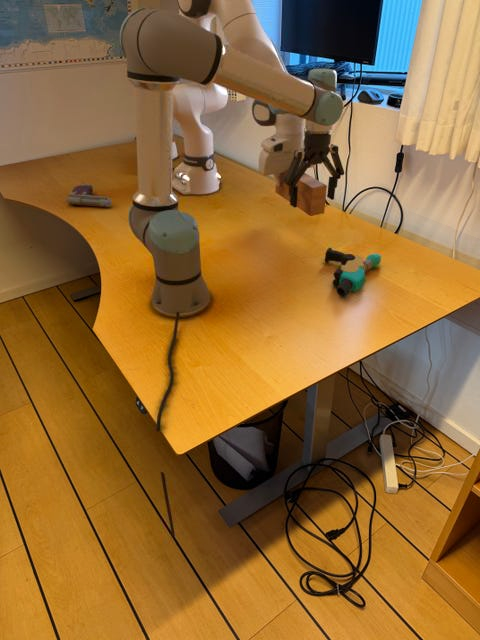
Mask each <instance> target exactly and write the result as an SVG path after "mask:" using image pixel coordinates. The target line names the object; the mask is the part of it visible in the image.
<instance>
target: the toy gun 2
mask: <svg viewBox="0 0 480 640" xmlns="http://www.w3.org/2000/svg"><path fill="white" fill-rule="evenodd" d="M330 261H332V262H337V263H340V267H339V268H337V269H336V270H335V272H334V273H333V277H334V279H333V280H332V285H333V286H334V287H336V292H337V294H338V295H339V297H341V298H344V299H345V298H346V297H347V295H348V294H350V293H351V291H353V292H357V291H359V290H360V289H361V288H362V287H363V286H364V284H365V282H366V274H365V273H366V272H367V271H369V270H370V269H372V268H377V266H379V265H380V263H381V261H382V255H381V254H379V253H370V254H368V256H366V259H364V257H363V256H361V255H359V254H353V253H352V254H351V253H344V252H342V251H338V250H335V249H333V248H332V247H328V248H327V249H326V251H325V255H324V262H325V263H329V262H330Z"/></svg>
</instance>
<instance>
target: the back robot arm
mask: <svg viewBox="0 0 480 640" xmlns="http://www.w3.org/2000/svg"><path fill="white" fill-rule="evenodd" d="M176 2H177V5H178V14H180V15H182V16H184V17H185V18H187V19H189V20H190V21H192V22H194V23H195V24H197V25H199V26H201V27H202V28H204V29H206V30H208V31H210V32H211V23H212V20H213V19H214V18H215V17H217V18H218V21H219V24H220V27H221V29H222V32H223V35H224V38H225V41H226V43H227V46H229V47H231V48H233V49H235V50H238V51H240V52H242V53H244V54H246V55H249V56H251V57H253V58H255V59H257V60H260V61H262V62H264V63H266V64H269V65H271V66H273V67H275V68H277V69H280V70H282V71H284V72H286V73H288V74H289V71H288V69H287V68H286V66H285V63H284V61H283V59H282V56H281V54H280V52H279V50H278V48H277V47H276V45H275V43H274V42H273V40H272V39H271V38H269V36H268V35H267V34H266V32H265V30H264V29H263V27H262V25H261V23H260V20H259V18H258V15H257V12H256V10H255V6H254V5H253V2H252V0H176ZM228 100H229V94H228V89H227V88H224V87H222V86H219V85H216V84H214V83H210V84H208V85H202V84H199V83H197V82H193V81H191V82H187V83H178V84H177V85H176V86H175V87H174V89H173V120H174V121H175V122H176V123H177V125H178V126H179V128H180V130H181V133H182V137H183V145H184V146H183V147H184V152H183V153H181V157H182V162H181V163H180V164H178V165H177V166H176V167H173V166H172V171H173V172H172V177H173V178H172V189H175V190H176V191H178V192H179V193H180V194H182V195H185V196H187V195H207V194H212V193H215V192H217V191H218V190H219V189H220V184H221V182H220V179H221V175H220V174H219V173H218V170H217V163H216V152H215V150H214V134H213V131H212V130H211V128H209V127H208V126H206V125H205V124H202V122H201V116H203V115H206V114H207V115H208V114H213V113H216V112H218V111H220V110H223V109H224V108H225V107H226V106H227V103H228ZM251 114H252V117H253V119H254V121H255V123H256V124H257V125H259V127H275V133H274V134H273V135H271V136H269V137H267V138H265V139H263V140H262V141H261V143H260V146H261V148H262V149H261V150H260V152H259V155H258V156H259V157H258V171H259V173H260V174H261V175H263V176H264V177H266V176H273V177H274V179H275V186H276V185H277V186H282V180H280V179H279V177H278V176H280V173H284V171H287V170H288V169H289V166H290V164H291V162H292V160H293V157H294V151H295V150H298V151H303V150H304V148H305V145H304V136H305V125H304V123H305V119H304V118H301V117H298V116H295V115H292V114H289V113H287V114H284V115H282V114H273V113H272V112H271V110H270V109H269V106H268V104H266V103H263V102H261V101H258V100H255V99H253V102H252V104H251ZM134 139H135V140H136V136H135V137H134ZM303 158H304V156H303ZM303 158H302V159H301V161H302V160H303ZM306 163H308V162H307V161H306ZM300 164H301V162H300ZM300 164H299V166H300ZM316 165H317V164H315V165H311V166H310V167H309V168H308V169H311V168H315V167H316Z"/></svg>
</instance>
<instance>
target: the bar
mask: <svg viewBox="0 0 480 640" xmlns="http://www.w3.org/2000/svg"><path fill="white" fill-rule="evenodd" d="M287 171H288V170H287ZM287 171H284V173H280V176H278V177H279V179H280V180H282V186H277V185H276V184H275V191H274V192H275V193H276V194H277V195H279V196H280V197H282V198H283V199H284V200H286V201H288V202H289V203H290V196H289V194H288V193H289V186H288V185H286V184H285V183H283V180H284V178H285V175H286V173H287ZM296 185H297V186H298V194H297V207H296V208H298V210H300V211H302V212H303V213H305V214H307V215H308V216H309V217H313V216H317V215H323V214H325V208H326V200H327V199H326V198H327V191H328V184H325V183H323V182H321V180H318V179H317V178H315V177H313V176H311V175H310V174H307V172H305V173H304V174H303V176H302V177H301V178H300V180H299V181H298V183H297V184H296Z"/></svg>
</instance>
